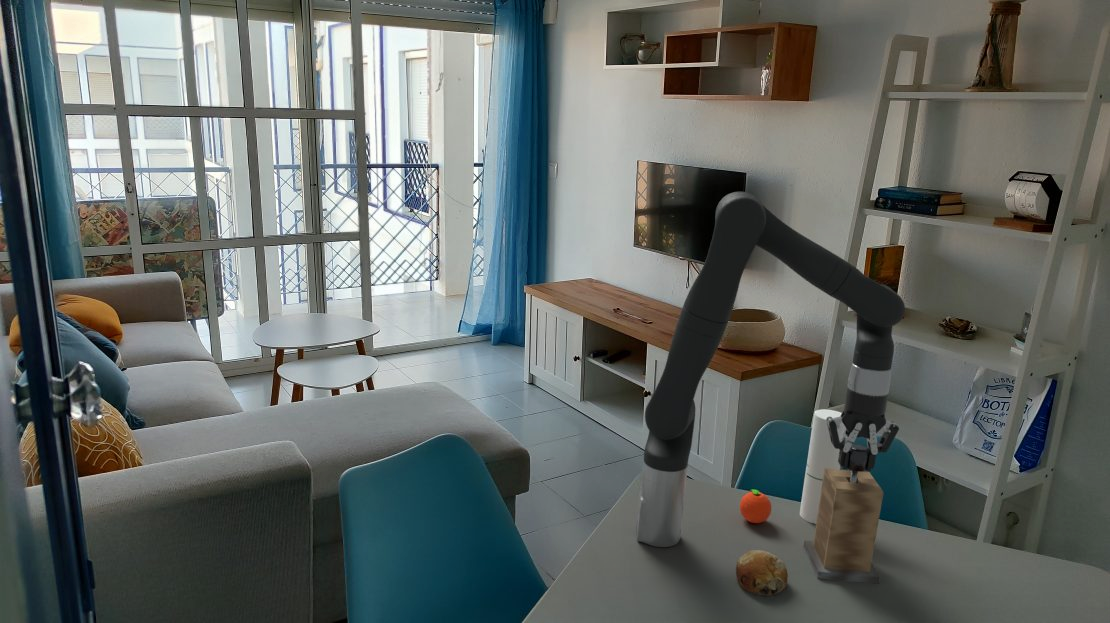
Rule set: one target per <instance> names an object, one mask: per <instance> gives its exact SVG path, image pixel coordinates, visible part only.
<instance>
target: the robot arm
mask: <svg viewBox="0 0 1110 623" xmlns="http://www.w3.org/2000/svg"><path fill="white" fill-rule="evenodd" d="M714 218H715V219H714V220H715V222H714V229H713V233H712V239H711V241H710V244H709V245H710V246H709V248H708V253H707V256H706V259H705V261H704V263H703V266H702V267H701V270H700V271H699V274H698V275H697V277H696V278H695V280H694V281H693V284H692V286H691V287H690V290H688V294H687V296H686V298H685V300H684V302H683V305H682V308H681V310H680V314H679V316H678V319H677V323H676V325H675V329H674V331H673V332H674V333H673V336H672V339H671V342H670V347H669V351H668V353H667V359H666V362H665V365H664V369H663V372H662V375H661V376H660V379H659V381H658V383H657V385H656V387H655V389H654V391H653V393H652V396H651V398H650V399H649V401H648V403H647V405H646V407H645V410H644V411H645V412H644V420H645V425H646V427H647V430H648V436H647V440H646V444H645V447H644V452H643V461H642V463H643V464H642V473H641V485H640V487H639V496H638V506H637V516H636V517H637V518H636V538H637V539H636V541H637V542H641V543H644V544H646V545H650V546H653V547H656V548H657V547H659V548H668V547H669V548H670V547H672V546H673V547H674V546H675V545H677V544H678V543H679V542H680V541H681V535H682V534H681V533H682V522H683V513H684V512H683V511H684V506H685V505H684V504H685V495H686V493H685V492H686V485H687V475H688V466H689V458H690V453H691V450H692V443H693V437H694V428H695V421H696V403H695V400H694V399H695V396H696V392H697V390H698V387H699V384H700V381H701V379H702V377H703V376H704V374H705V373H706V371H707V368H708V367H709V364H710V363H711V362H712V360H713V357H714V356H715V353H716V351H718V348H719V345H720V344H721V342H722V339H723V336H724V334H725V332H726V329H727V325H728V323H729V321H730V318H731V314H732V312H733V311H732V310H733V307H734V305H735V302H736V299H737V295H738V292H739V287H740V284H741V283H740V282H741V280H742V276H743V274H744V270H745V269H746V267H747V264H748V262H749V260H750V258H751V256H752V254H753V252H754V250H755V248H756V247H758V248H760V249H762V250H764V251H765V252H768V253H769V254H771V255H772V256H774V257H775V258H776V259H778V260H779V261H781V262H782V263H783V264H784V265H786V266H787V267H789V269H791V271H793V272H794V273H796V275H798V276H799V277H801V278H803V280H805V281H806V282H808V283H809V284H811V285H812V286H813V287H815V288H817V289H818V290H820V291H822V292H823V293H825V294H827V295H828V296H830V297H832V298H833V299H836V300H837V301H839V302H840V303H843V304H844V305H845V306H846V307H849V309H850V310H852V311H853V312H855V313H856V341H855V346H854V350H853V358H852V363H851V367H850V371H849V374H848V379H847V386H846V393H845V394H846V395H845V402H844V408H843V411H842V412H841V413H842V414H841V416H840V417H836V418H832V417H827V419H826V421H827V425H828V430H829V435H830V439H831V443H832V444H833V446H834V447H835V448H836V449H840V451H839V458H838V463H839V465H840V468H841V470H847V469H848V468H847V466H848V459H849V452H848V451H849V450H850V447H851V445H853V444H854V443H855V442H856V439H857V438H865V439H866V445H867V448H868V449H869V455H868V461H867V467H866V470H865V472H871V471H872V470H873V469H874V468H875V464H876V458H877V455H878V454H879V453H887V452H888V451H889V449H890V447H891V445H892V443H893V441H894V440H895V438H896V435H897V434H898V432H899V430H900V427H899V426H898V425H897V423H896V422H894V421H889V420H887V418H886V411H887V405H888V399H889V392H890V387H891V379H892V378H891V377H892V367H893V366H892V365H893V358H894V353H895V344H894V339H893V334H892V331H893V326H896V325H897V324H899V323H900V322H901V321H902V320H903V318H904V316H905V312H906V311H905V310H906V306H905V302H904V300H903V299H902V297H901V296H900V295H899V294H898V293H897V292H895V291H894V290H893V289H892V288H891V287H890V286H888V285H885V284H883V283H882V284H880V283H879V282H877V281H875V280H874V279H872V278H870V277H868V276H867V275H866V274H864V273H863V272H862V271H861V270H859V269H858V268H857V267H855V266H854V265H853V264H851V263H850V262H848V261H847V260H846V259H844V258H842V257H840V256H839V255H837V254H835V253H833V251H830V250H829V249H827V248H826V247H823V246H822V245H820V244H818V243H816V242H815V241H813V240H812V239H809V238H808V237H807V236H804V235H803V234H801V233H800V232H798V231H797V230H795V229H793V228H792V227H790V225H788V224H787V223H785V222H783V221H782V220H781V219H779V217H778V216H776V215H775V214H773V213H772V212H771V211H770V210H769V209H768V208H767V207H766V206H765V205H764V204H762V202H761V201H760V200H759V198H758V197H757V196H755V195H754V194H752V193H750V192H746V191H734V192H731V193H728V194H726V195H725V196H723V197H722V198H721V200H720V201H719V202H718V204H717V206H716V208H715V216H714ZM842 422H843V424H844V426H845V427H846V429H845V431H844V433H843V438H842V440H841V441H839V436H838V432H837V429H839V427H840V424H841V423H842ZM882 428H883V434H882V435H881V436H880V439H879V440H878V438H877V437H878V436H877V433H879V432H880V431H881V430H882Z"/></svg>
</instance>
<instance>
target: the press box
mask: <svg viewBox="0 0 1110 623" xmlns="http://www.w3.org/2000/svg"><path fill="white" fill-rule="evenodd" d="M851 471H852V470H850V469H848V470H847V469H840V470H838V469H825V470H824V477H823V483H822V490H821V497H820V503H819V510H818V516H817V523H816V524H815V530H814V536H813V537H814V538H813V540H807V539H804V541H803V549H804V551H805V553H806V555H807V558H808V560H809V562H810V565H811V567H812V569H813V571H814V574H815V576H816V578H817V579H823V580H831V581H832V580H833V581H845V582H853V583H854V582H857V583H867V584H879V583H880V579H881V576H880V574H879V573H878V571H877V570H876V568H875V565H874V564H873V555H874V550H875V544H876V538H877V533H878V526H879V520H880V515H881V509H882V503H883V498H884V491H883V489H882V488H881V486H880V485H879V484H878V482H877V481H876V480H875V478H874V477H873V476H872V474H871V471H863V472H858V475H857V481H856V483H853V482H850V477H851Z"/></svg>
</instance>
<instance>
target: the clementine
mask: <svg viewBox="0 0 1110 623" xmlns="http://www.w3.org/2000/svg"><path fill="white" fill-rule="evenodd" d="M739 511H740V513H741V516H742V517H743V518H744V520H746V521H748V522H750V523H753V524H760V523H763V522H765V521H766V520H768V519H769V517H770V515H771V513H772V503H771V501H770V499H769V497H768V496H767V495H766V494H764V493H762V492H760V491H759V490H758V489H750V490H749V492H748V493H746V494H745V495H743V496H742V498H741V500H740V502H739Z"/></svg>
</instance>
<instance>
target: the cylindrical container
mask: <svg viewBox="0 0 1110 623" xmlns="http://www.w3.org/2000/svg"><path fill="white" fill-rule="evenodd" d="M842 413H843V412H840V411H837V410H834V409H825V408H824V409H816V410H815V411H814V414H813V419H812V426H811V432H810V433H811V434H810V439H809V440H810V441H809V448H808V453H807V454H808V455H807V460H806V468H805V474H804V480H803V488H802V493H801V494H802V496H801V502H800V509H799V517H800V518H801V517H802V519H803V521H805V522H808V523H810V524H813V523H814V524H813V525H816V523H817V516H818V510H819V503H820V497H821V490H822V483H823V477H824V470H825V469H838V470H841V466H840V465H839V463H838V458H839V451H840V449H836V448H835V447H834V446H833V444H832V443H831V439H830V435H829V430H828V425H827V421H826V419H827V417H832V418H836V417H840V416H841V414H842ZM845 429H846V427H845V426H844V424H843V422H842V423H841V424H840V427H839V429H837V432H838V436H839V441H841V440H842V438H843V433H844V431H845Z"/></svg>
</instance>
